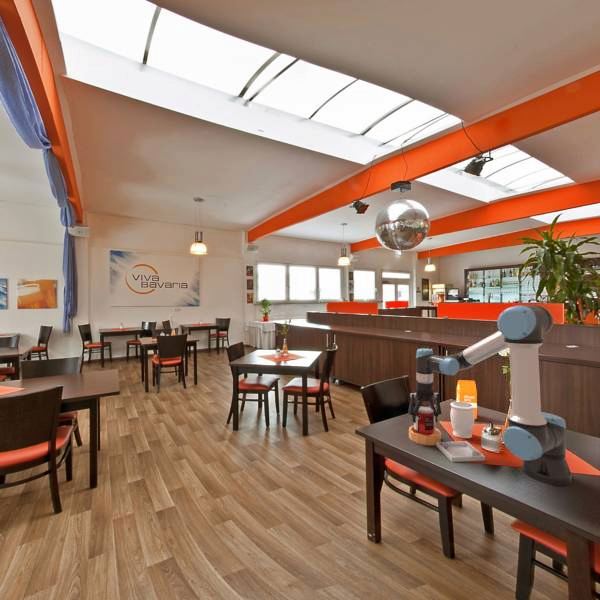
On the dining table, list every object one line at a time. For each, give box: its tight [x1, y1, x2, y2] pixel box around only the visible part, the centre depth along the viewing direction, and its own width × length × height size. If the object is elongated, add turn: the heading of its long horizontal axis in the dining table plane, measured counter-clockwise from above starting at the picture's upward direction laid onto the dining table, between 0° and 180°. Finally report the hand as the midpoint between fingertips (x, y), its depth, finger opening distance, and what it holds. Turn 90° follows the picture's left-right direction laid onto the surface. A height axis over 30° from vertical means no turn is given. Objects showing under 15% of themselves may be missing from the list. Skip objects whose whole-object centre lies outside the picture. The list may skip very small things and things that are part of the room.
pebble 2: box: [472, 450, 481, 456], centre depth 139 cm, size 3×3×3 cm
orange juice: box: [456, 379, 478, 420], centre depth 187 cm, size 8×9×20 cm
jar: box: [450, 401, 476, 439], centre depth 162 cm, size 11×10×15 cm
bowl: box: [408, 424, 442, 446], centre depth 158 cm, size 14×14×4 cm
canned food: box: [416, 405, 434, 435], centre depth 158 cm, size 8×8×11 cm
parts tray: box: [435, 440, 486, 463], centre depth 144 cm, size 14×14×2 cm
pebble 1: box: [441, 441, 448, 449], centre depth 148 cm, size 3×3×3 cm
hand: (424, 428), depth 158 cm, fingers closed on canned food, 8 cm apart
